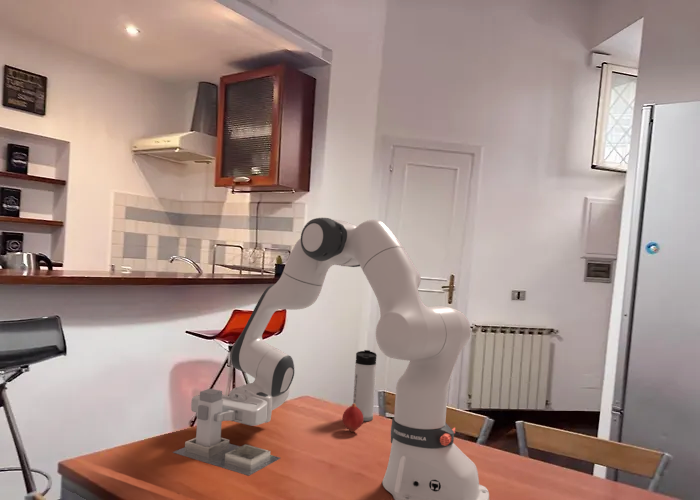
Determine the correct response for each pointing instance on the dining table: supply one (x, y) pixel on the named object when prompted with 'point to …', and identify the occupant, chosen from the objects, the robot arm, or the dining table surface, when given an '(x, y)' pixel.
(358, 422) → the onion
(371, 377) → the travel mug
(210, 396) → the plug
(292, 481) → the dining table surface
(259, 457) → the panel
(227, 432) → the dining table surface
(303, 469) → the dining table surface
